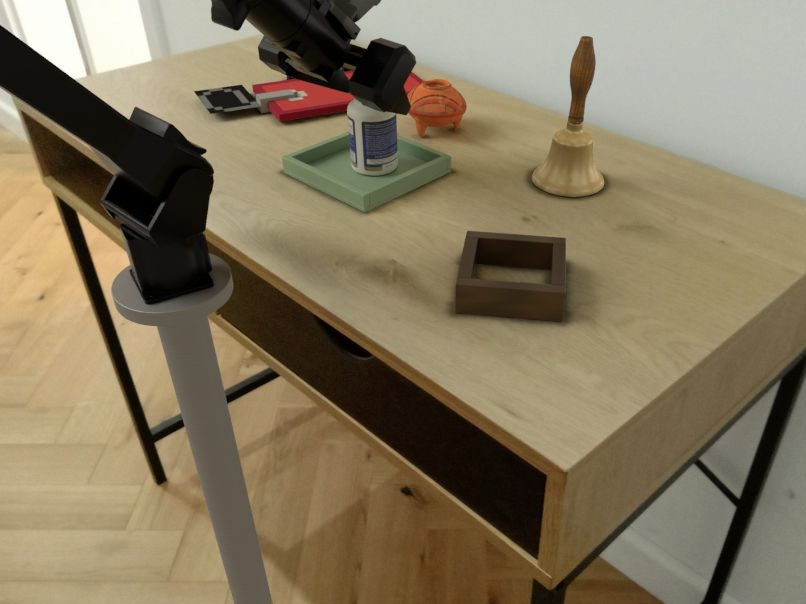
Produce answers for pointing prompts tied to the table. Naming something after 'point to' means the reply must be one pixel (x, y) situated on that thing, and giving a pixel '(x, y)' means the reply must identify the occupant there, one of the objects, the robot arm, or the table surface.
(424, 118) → the pot
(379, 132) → the pill bottle
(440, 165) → the tray
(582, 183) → the hand bell
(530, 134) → the table surface
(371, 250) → the table surface
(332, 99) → the red board with handle
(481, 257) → the bottle holder
